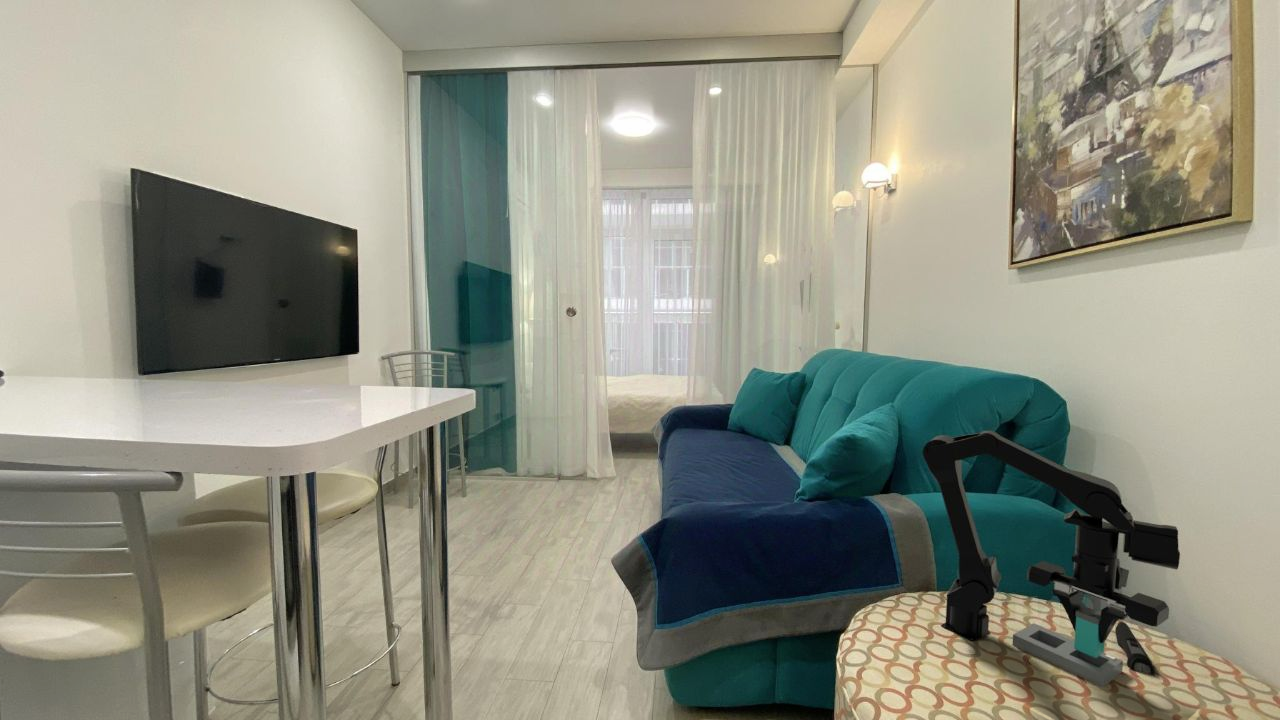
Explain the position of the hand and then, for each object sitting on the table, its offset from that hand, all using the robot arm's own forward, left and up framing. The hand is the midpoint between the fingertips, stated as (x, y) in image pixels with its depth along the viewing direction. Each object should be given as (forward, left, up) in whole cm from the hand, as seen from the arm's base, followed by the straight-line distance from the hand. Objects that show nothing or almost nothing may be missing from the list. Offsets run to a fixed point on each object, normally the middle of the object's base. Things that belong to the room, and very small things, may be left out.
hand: (1089, 637), depth 97 cm
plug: (0, 0, -2) cm, 2 cm away
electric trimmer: (+2, +13, -7) cm, 15 cm away
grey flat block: (-3, 0, -6) cm, 7 cm away
